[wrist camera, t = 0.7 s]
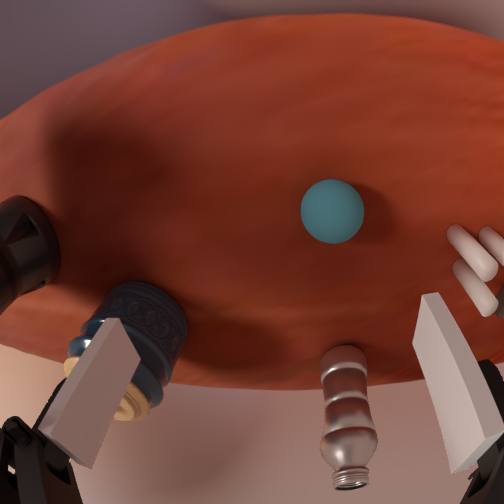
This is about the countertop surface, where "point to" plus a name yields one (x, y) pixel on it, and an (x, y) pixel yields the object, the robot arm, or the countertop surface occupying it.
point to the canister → (139, 342)
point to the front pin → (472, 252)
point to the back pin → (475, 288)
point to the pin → (492, 243)
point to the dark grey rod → (500, 303)
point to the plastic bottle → (346, 417)
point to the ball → (332, 211)
